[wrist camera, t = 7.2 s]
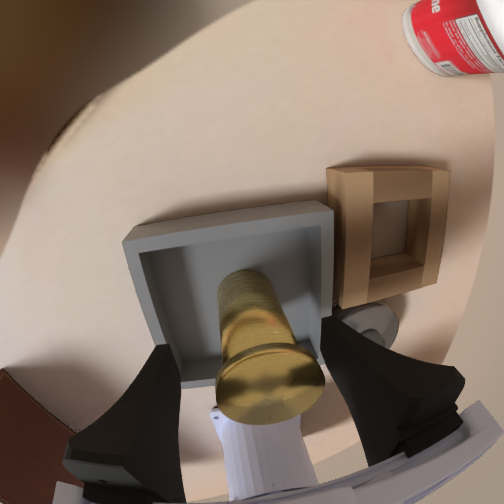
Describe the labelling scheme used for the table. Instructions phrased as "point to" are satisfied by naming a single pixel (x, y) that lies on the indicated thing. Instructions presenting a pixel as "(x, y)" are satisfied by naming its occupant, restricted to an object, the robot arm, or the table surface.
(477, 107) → the table surface
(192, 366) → the tray
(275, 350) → the lock pin
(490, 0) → the pill bottle
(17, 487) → the letter holder
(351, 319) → the pulley
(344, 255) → the block
